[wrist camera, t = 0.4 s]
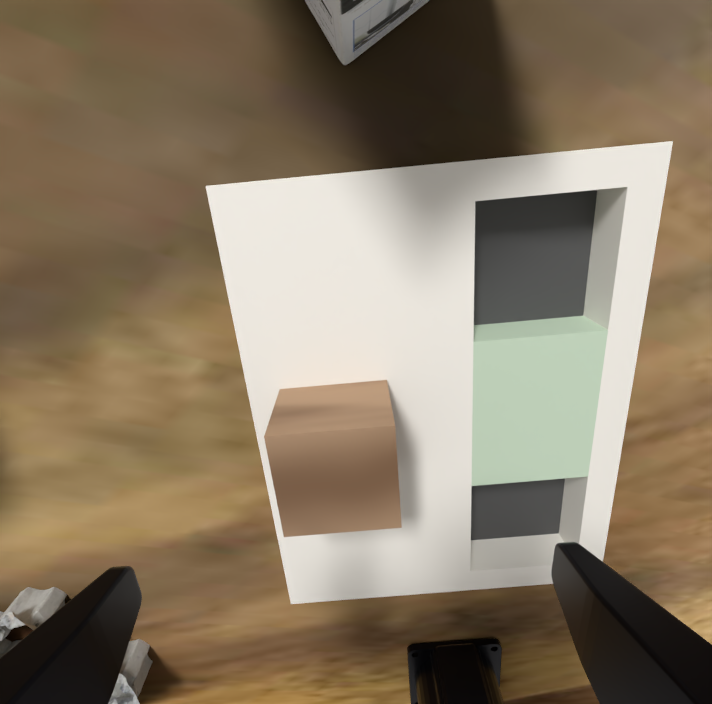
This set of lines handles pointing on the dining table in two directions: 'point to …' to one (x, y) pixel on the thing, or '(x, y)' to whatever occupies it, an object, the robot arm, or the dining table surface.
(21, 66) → the dining table surface
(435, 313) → the tray
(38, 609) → the egg carton
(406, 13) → the light bulb box
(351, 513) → the walnut block
